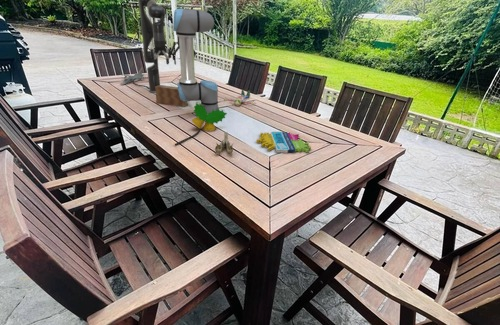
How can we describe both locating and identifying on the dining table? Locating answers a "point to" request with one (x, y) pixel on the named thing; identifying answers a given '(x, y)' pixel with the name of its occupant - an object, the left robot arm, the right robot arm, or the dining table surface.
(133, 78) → the airplane
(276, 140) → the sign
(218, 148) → the jawbone
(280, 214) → the dining table surface
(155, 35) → the left robot arm
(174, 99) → the box
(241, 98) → the toy
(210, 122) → the ornament
